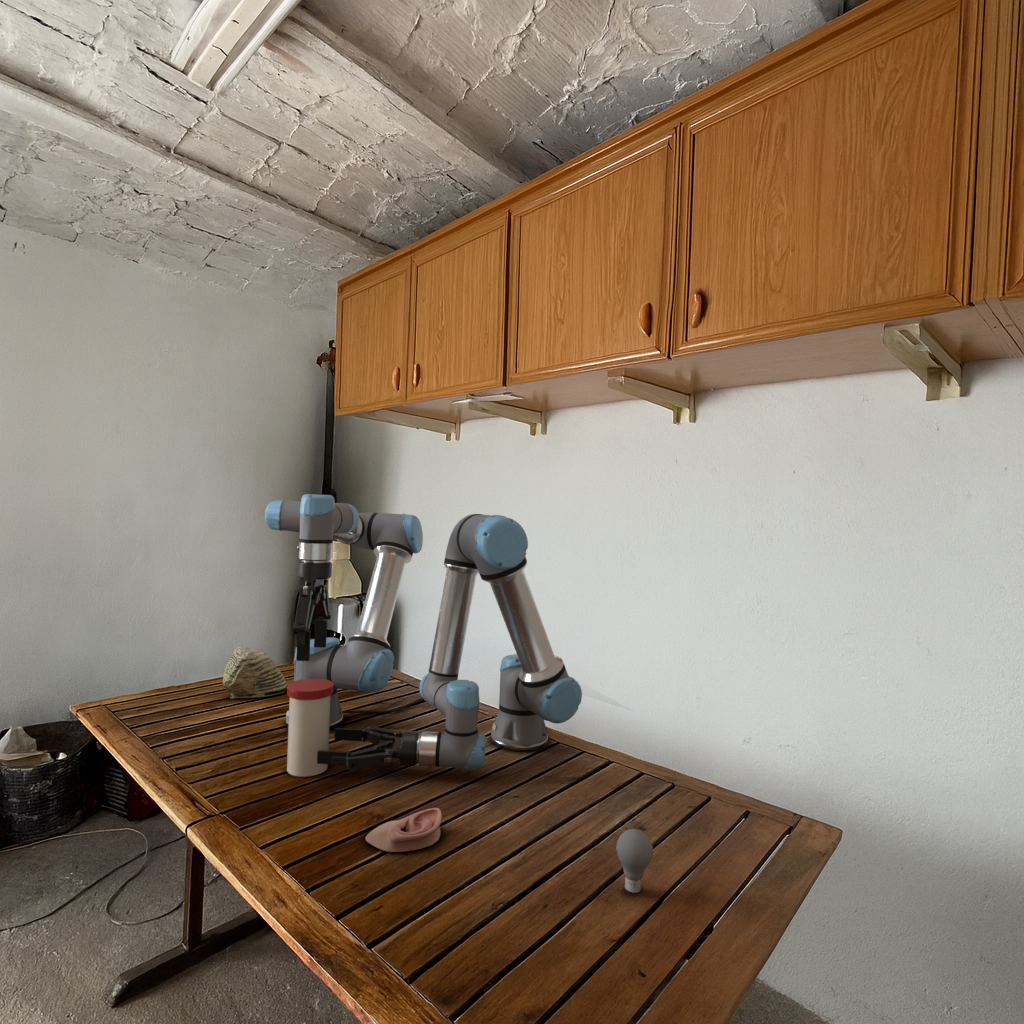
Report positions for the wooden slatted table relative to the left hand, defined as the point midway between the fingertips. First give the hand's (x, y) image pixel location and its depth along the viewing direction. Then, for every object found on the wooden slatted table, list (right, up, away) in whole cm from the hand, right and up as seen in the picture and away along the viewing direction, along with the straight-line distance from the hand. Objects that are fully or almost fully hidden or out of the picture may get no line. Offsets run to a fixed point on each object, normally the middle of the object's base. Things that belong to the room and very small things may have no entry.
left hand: (311, 653), depth 147 cm
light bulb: (+67, -31, -41) cm, 84 cm away
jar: (-1, -27, +1) cm, 27 cm away
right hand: (+4, -21, -1) cm, 21 cm away
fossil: (-34, -24, +51) cm, 66 cm away
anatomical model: (+26, -29, -28) cm, 47 cm away
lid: (0, -8, 0) cm, 8 cm away
